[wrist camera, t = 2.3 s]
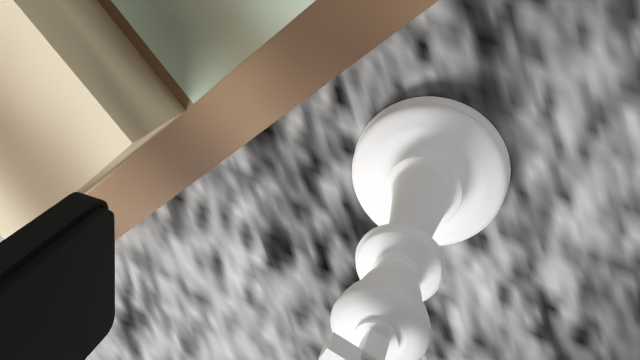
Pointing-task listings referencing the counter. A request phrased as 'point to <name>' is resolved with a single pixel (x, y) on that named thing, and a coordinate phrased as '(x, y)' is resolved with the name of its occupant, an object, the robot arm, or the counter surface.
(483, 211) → the chess piece
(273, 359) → the counter surface
